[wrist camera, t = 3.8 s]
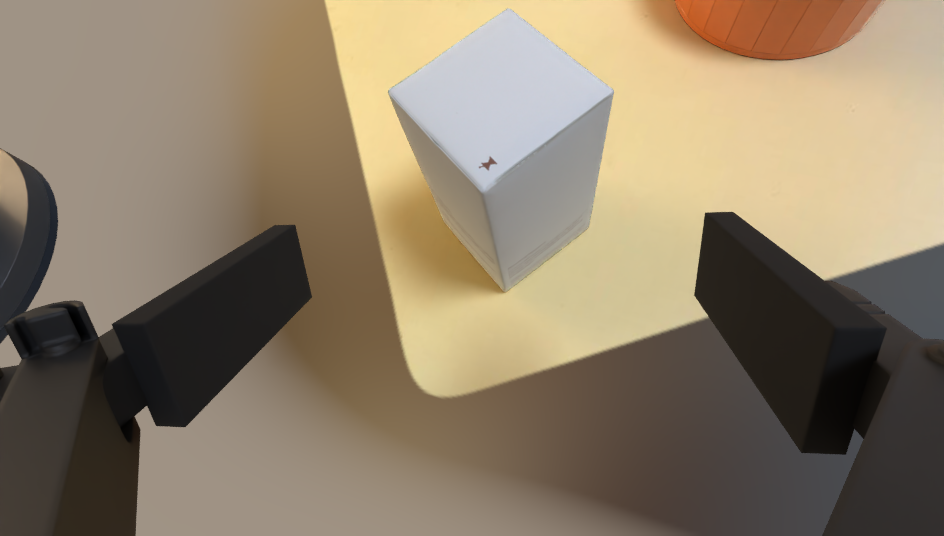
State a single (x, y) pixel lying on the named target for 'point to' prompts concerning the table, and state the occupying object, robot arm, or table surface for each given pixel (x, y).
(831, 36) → the orange round bowl
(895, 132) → the table surface
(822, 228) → the table surface
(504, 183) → the white packaging box
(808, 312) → the robot arm
